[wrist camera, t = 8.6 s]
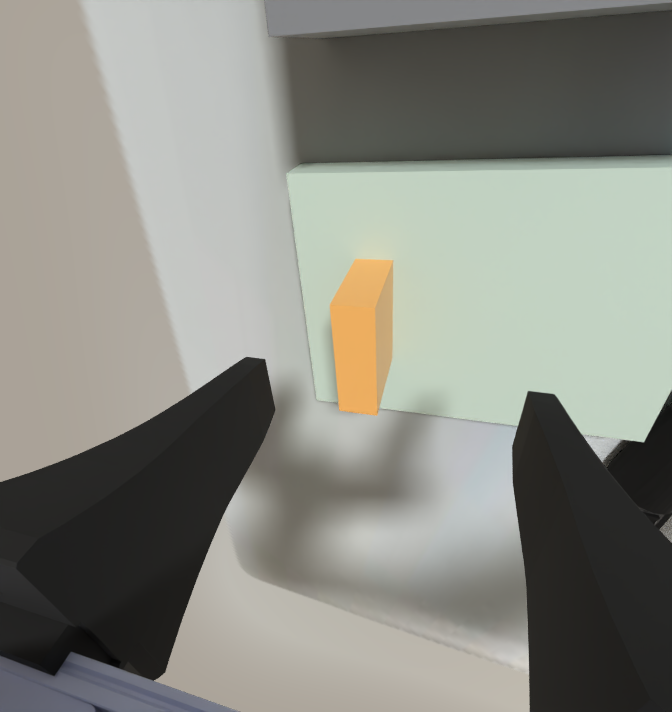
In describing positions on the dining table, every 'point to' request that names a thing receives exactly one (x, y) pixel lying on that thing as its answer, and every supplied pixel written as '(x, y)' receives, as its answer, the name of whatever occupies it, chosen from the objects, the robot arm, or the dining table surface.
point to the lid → (490, 286)
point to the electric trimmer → (648, 470)
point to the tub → (430, 14)
